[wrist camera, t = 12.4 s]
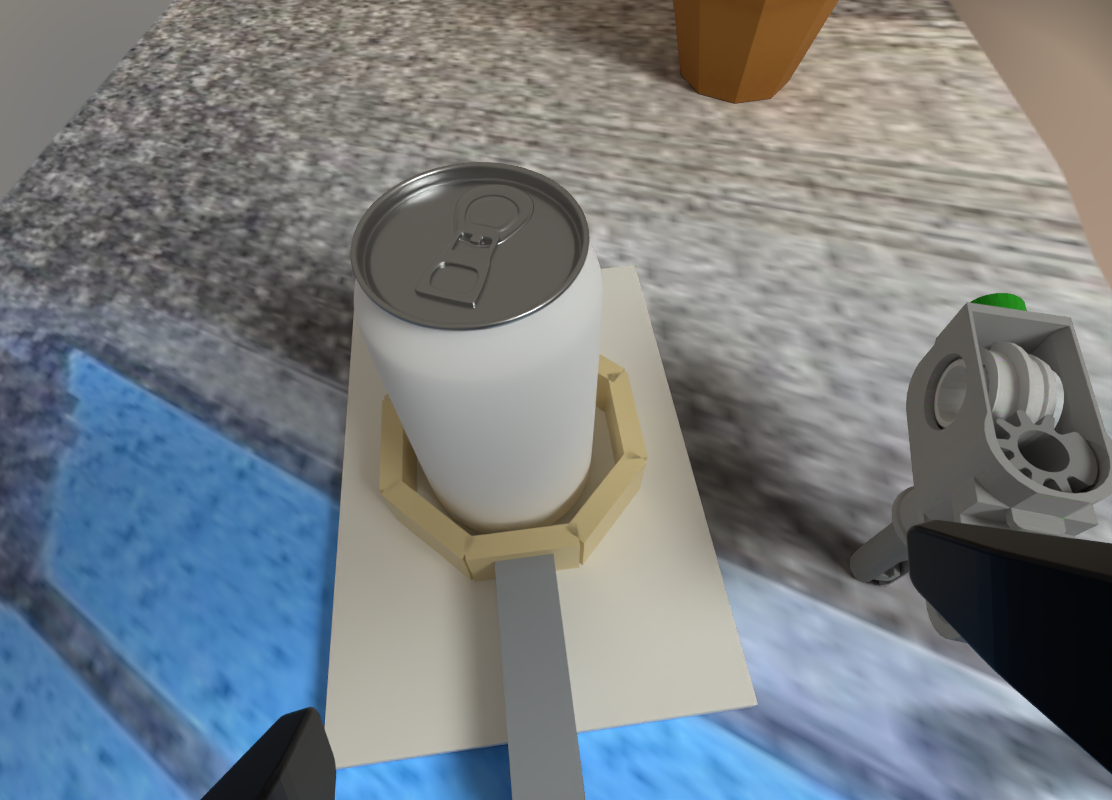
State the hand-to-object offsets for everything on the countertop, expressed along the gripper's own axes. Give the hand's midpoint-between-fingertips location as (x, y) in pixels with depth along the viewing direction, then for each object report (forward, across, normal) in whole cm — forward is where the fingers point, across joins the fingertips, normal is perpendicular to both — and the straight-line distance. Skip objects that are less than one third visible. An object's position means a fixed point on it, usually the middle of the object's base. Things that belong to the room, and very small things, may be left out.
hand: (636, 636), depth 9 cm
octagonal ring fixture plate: (+16, 0, +3) cm, 17 cm away
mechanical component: (+11, -12, +8) cm, 18 cm away
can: (+16, +1, +2) cm, 16 cm away
